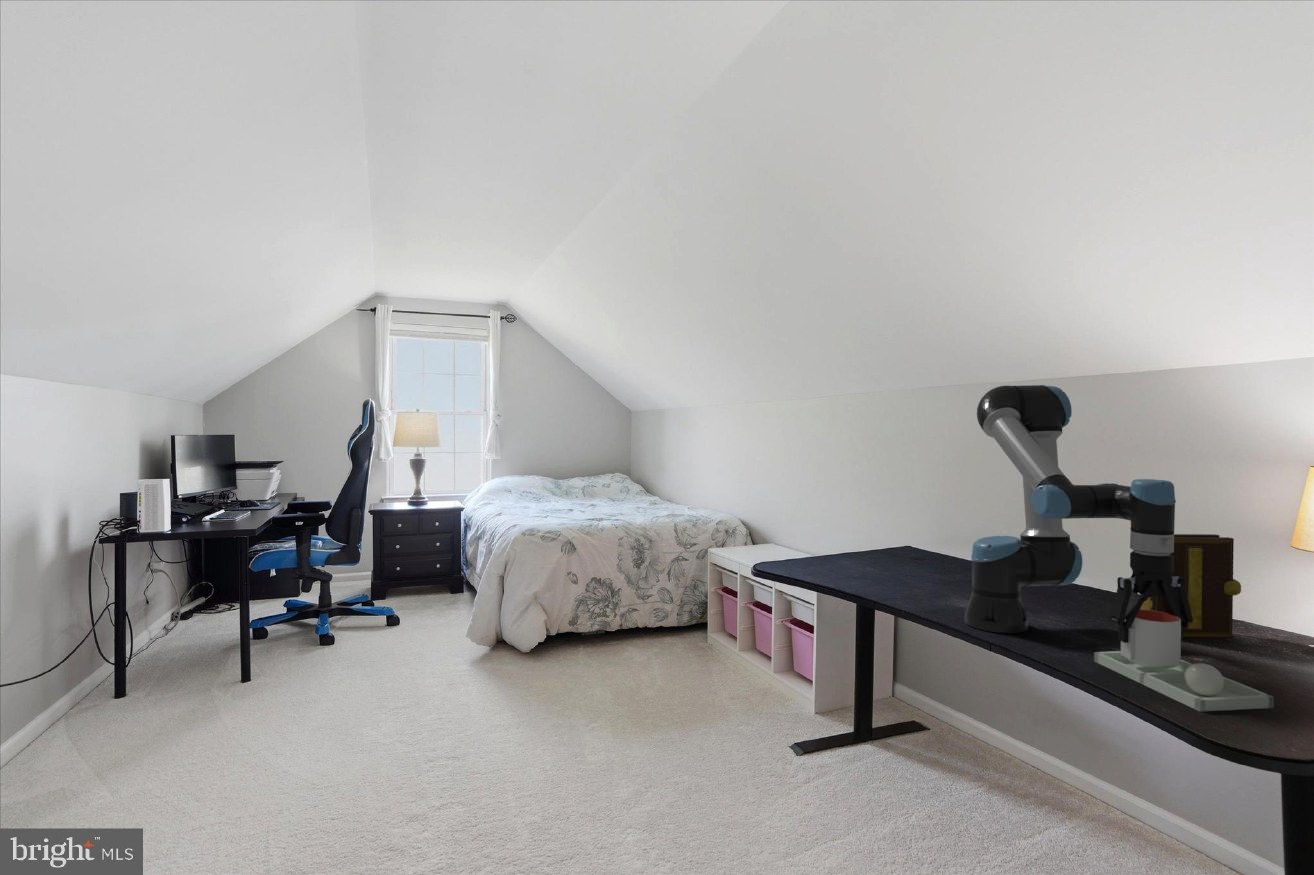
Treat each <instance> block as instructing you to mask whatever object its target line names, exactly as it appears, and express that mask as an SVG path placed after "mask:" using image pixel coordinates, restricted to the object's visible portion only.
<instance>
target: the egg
mask: <svg viewBox="0 0 1314 875" xmlns="http://www.w3.org/2000/svg"><path fill="white" fill-rule="evenodd" d="M1192 664H1193V665H1190V666H1189V667H1188V668H1187V669H1186V671H1185V674H1184V678H1185V681H1186V683H1187V685H1188V686H1189V688H1190V689H1192V690H1193V691H1194V692H1196V693H1198V694H1201V695H1205V696H1212V695H1216V694H1218V693H1219V692H1221V690H1222V689H1223V687H1224V679H1223V677H1224V676H1223V675H1222V673H1221V672H1220V671H1219V670H1218V669H1217V668H1215V667H1214V666H1213V665H1211V664H1207V663H1204V662H1198V663H1197V662H1196V663H1192Z"/></svg>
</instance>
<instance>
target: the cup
mask: <svg viewBox="0 0 1314 875" xmlns="http://www.w3.org/2000/svg"><path fill="white" fill-rule="evenodd" d="M1125 621H1126V620H1125ZM1131 628H1134V659H1129V658H1127V659H1128V660H1130V661H1132V662H1134V663H1136V664H1139V665H1143V666H1147V667H1153V668H1173V667H1176V666H1177V665H1179V663H1180V659H1181V657H1180V649H1181V650H1182V640H1181V619H1180V618H1178V617H1177V616H1173V615H1170V614H1167V613H1164V612H1159V611H1153V610H1144V609H1141V608H1140V610H1139V612H1138V614H1137V616H1136V617H1135V618H1134V621H1133V623H1132V625H1131ZM1125 658H1126V657H1125Z"/></svg>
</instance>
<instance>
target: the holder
mask: <svg viewBox="0 0 1314 875" xmlns="http://www.w3.org/2000/svg"><path fill="white" fill-rule="evenodd" d="M1093 654H1094V656H1093V661H1094V662H1095V663H1097V664H1098V665H1101V666H1103V667H1105V668H1108V669H1110V670H1111V671H1113V672H1116V673H1118V674H1120V675H1122V676H1124V677H1126V678H1128V679H1131V680H1132V681H1135V682H1136V683H1139V684H1142V685H1143V686H1145V687H1147V688H1150V689H1152V690H1153V691H1156V692H1157V693H1160V694H1163V695H1164V696H1166V697H1168V698H1170V699H1173V700H1174V701H1176V702H1179V703H1181V704H1183V705H1186V706H1187V707H1190V708H1191V709H1194V710H1195V711H1197V712H1216V711H1217V712H1218V711H1235V710H1236V711H1238V710H1254V709H1255V710H1256V709H1258V710H1259V709H1274V707H1275V702H1274V701H1275V697H1274V696H1272V695H1270V694H1267V693H1265V692H1263V691H1261V690H1258V689H1255V688H1254V687H1250V686H1247V685H1245V684H1243V683H1240V682H1238V681H1236V680H1233V679H1230V678H1228V677H1226V676H1223V679H1224V687H1223V689H1222V690H1221V692H1219V693H1218V694H1216V695H1212V696H1205V695H1201V694H1198V693H1196V692H1194V691H1193V690H1192V689H1190V688H1189V686H1188V685H1187V683H1186V681H1185V678H1184V674H1185V671H1186V669H1187V668H1188V667H1189V666H1190V665H1193V664H1194V663H1191V662H1188V661H1186V660H1183V659H1181V658H1180V663H1179V665H1177V666H1176V667H1173V668H1153V667H1147V666H1143V665H1139V664H1136V663H1134V662H1132V661H1130V660H1128V659H1127V658H1125V657H1124V656H1122V655H1121V650H1117V651H1115V650H1114V651H1094V652H1093Z"/></svg>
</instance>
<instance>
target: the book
mask: <svg viewBox="0 0 1314 875" xmlns="http://www.w3.org/2000/svg"><path fill="white" fill-rule="evenodd" d="M1234 541H1235V540H1234V538H1233V537H1223V536H1221V537H1220V535H1219V534H1210V533H1209V534H1206V533H1205V534H1203V533H1202V534H1200V533H1199V534H1197V533H1196V534H1195V533H1194V534H1193V533H1192V534H1191V533H1186V534H1185V533H1184V534H1183V533H1174V552H1173V553H1170V554H1171V555H1173V557H1174V571H1173V572H1172V573H1171V576H1173V575H1174V576H1178V577H1181V578H1185V579H1186V585H1185V590H1186V594H1187V598H1188V601H1189V605H1190V609H1191V613H1192V617H1193V622H1192V623H1189V622H1188V627H1183V638H1223V639H1224V638H1226V639H1227V638H1230V639H1231V638H1233V618H1234V617H1233V615H1234V613H1233V612H1234V611H1233V606H1234V604H1233V603H1234V602H1233V601H1234V596H1238V595H1240V594H1241V592H1242V585H1241V583H1240V581H1238V580H1237V579H1235V578H1234V548H1235V547H1234ZM1169 589H1170V591H1171V586H1169ZM1171 593H1172V592H1171ZM1172 598H1173V597H1172ZM1173 600H1174V599H1173ZM1140 609H1144V610H1153V611H1159V612H1164V613H1166V612H1165V610H1164V608H1163V606H1162V604H1161V602H1160V600H1159V598H1158V597H1157V596H1154V597H1149V598H1148V599H1147V600H1146V601H1144V603H1143V604H1142V606H1141V608H1140ZM1184 615H1185V614H1184Z"/></svg>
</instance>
